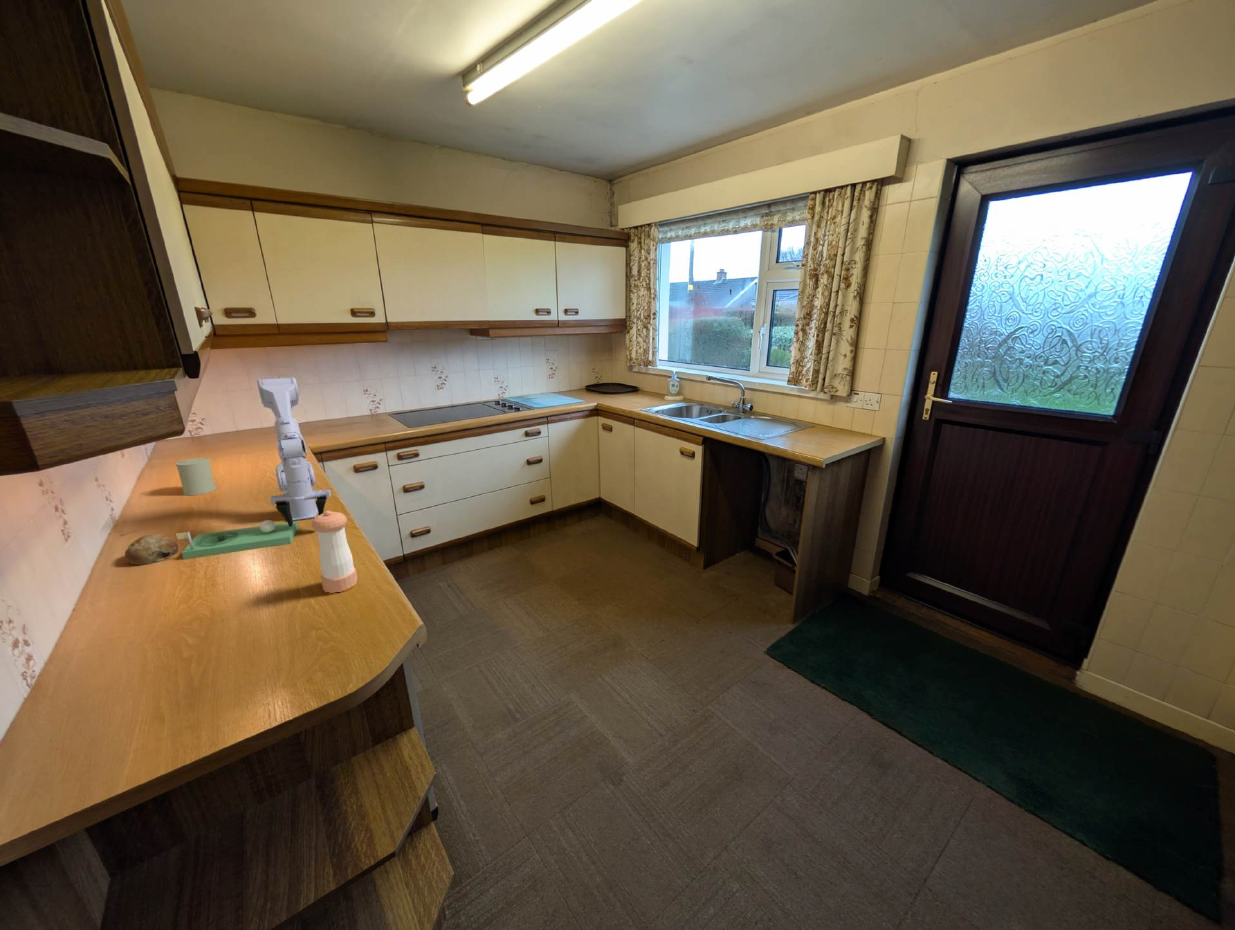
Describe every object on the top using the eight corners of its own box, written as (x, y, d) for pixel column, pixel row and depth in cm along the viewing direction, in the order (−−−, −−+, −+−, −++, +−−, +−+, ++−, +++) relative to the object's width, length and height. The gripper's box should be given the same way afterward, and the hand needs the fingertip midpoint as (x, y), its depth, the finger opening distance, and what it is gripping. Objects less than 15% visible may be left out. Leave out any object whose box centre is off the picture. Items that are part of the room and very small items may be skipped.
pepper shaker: (319, 595, 110) (304, 519, 104) (328, 579, 117) (314, 507, 111) (353, 591, 112) (341, 515, 106) (361, 575, 119) (349, 504, 113)
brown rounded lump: (144, 580, 123) (147, 556, 120) (111, 560, 123) (113, 536, 120) (185, 561, 132) (188, 539, 129) (154, 544, 132) (157, 521, 130)
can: (188, 488, 177) (180, 458, 174) (219, 485, 181) (212, 455, 177) (179, 497, 169) (170, 464, 166) (212, 493, 173) (204, 461, 169)
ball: (262, 530, 138) (260, 519, 137) (277, 528, 140) (275, 517, 139) (259, 535, 135) (257, 524, 134) (274, 533, 137) (272, 522, 136)
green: (197, 541, 136) (191, 518, 134) (298, 527, 146) (293, 505, 144) (181, 559, 126) (174, 535, 124) (290, 543, 135) (286, 520, 133)
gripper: (264, 487, 131) (274, 532, 135) (325, 480, 136) (333, 524, 140) (270, 479, 137) (279, 523, 141) (328, 473, 143) (335, 515, 146)
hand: (306, 523), depth 141 cm, fingers open, 7 cm apart
